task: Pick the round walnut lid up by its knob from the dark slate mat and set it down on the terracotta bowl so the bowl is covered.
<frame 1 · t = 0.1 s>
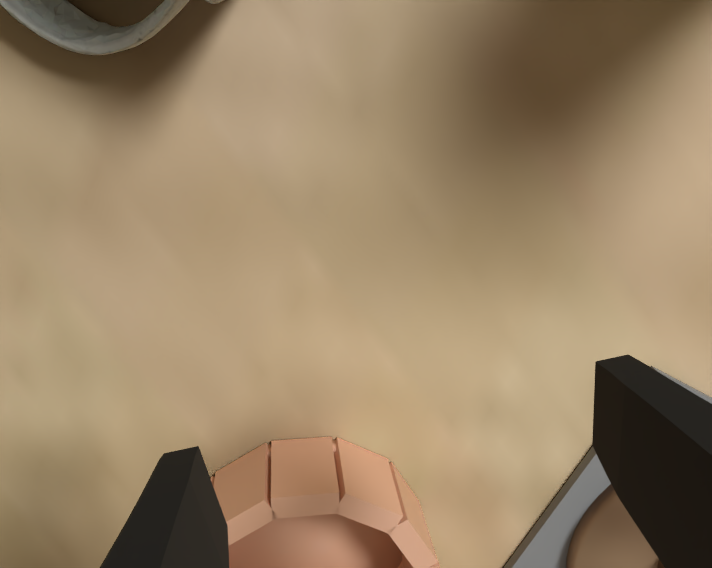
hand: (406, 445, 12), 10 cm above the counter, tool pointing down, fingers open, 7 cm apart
bowl: (306, 538, 25), on the counter
mat: (674, 540, 27), on the counter
lid: (679, 547, 27), resting on mat
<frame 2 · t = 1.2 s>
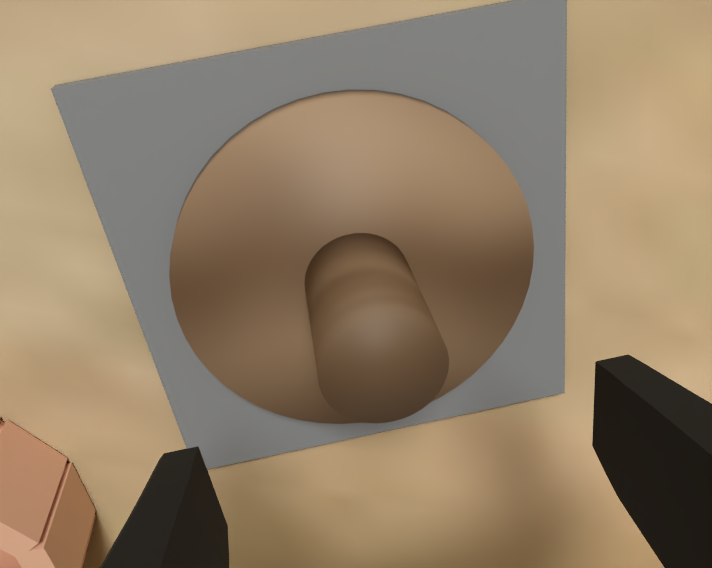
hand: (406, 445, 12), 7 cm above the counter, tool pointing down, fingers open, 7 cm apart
mat: (351, 261, 18), on the counter
lid: (353, 267, 18), resting on mat
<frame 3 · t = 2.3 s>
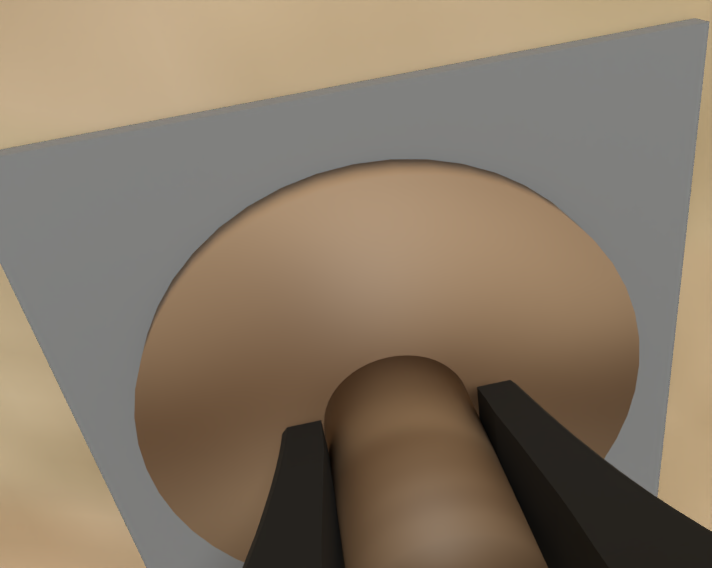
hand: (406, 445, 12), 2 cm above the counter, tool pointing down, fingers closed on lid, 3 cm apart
mat: (386, 378, 14), on the counter
lid: (389, 390, 13), resting on mat, touching gripper
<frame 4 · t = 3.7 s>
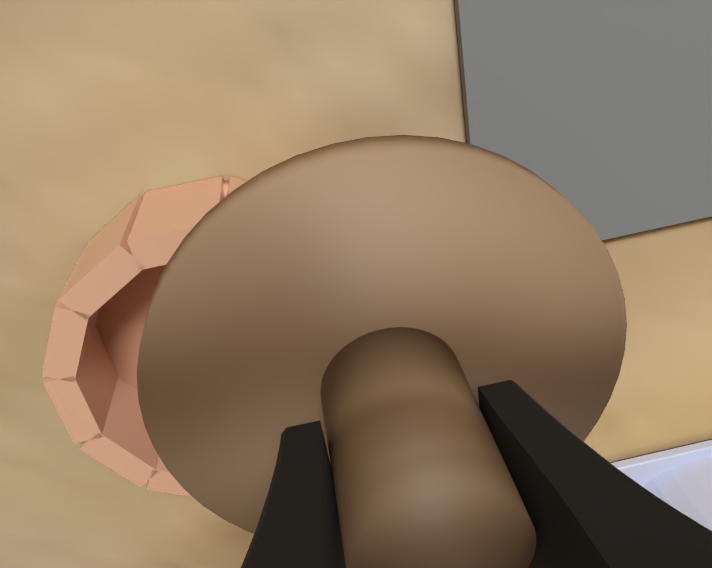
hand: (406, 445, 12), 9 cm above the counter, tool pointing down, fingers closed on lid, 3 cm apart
bowl: (226, 315, 20), on the counter
mat: (674, 22, 18), on the counter
lid: (384, 362, 14), point 7 cm above the counter, touching gripper
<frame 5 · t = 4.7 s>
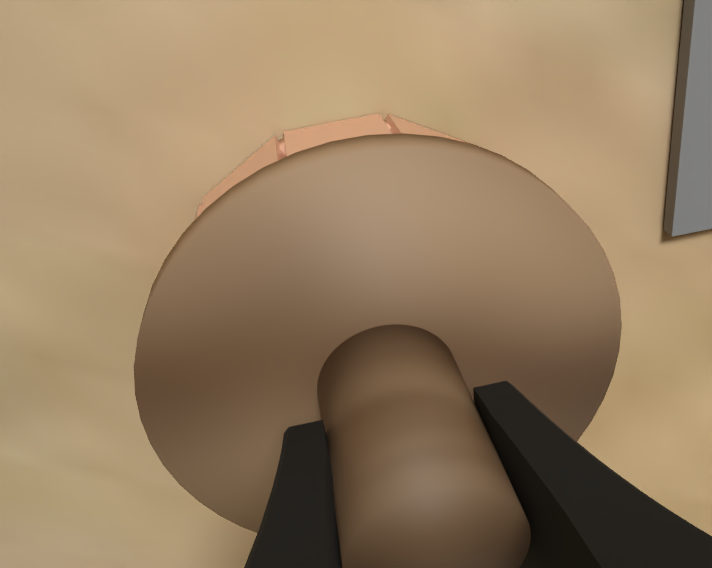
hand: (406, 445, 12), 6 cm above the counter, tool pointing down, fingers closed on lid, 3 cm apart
bowl: (360, 292, 17), on the counter
lid: (380, 359, 14), point 3 cm above the counter, touching gripper
when the fingers open (6 cm above the counter, at t = 4.9 s): lid stays where it is, resting on bowl.
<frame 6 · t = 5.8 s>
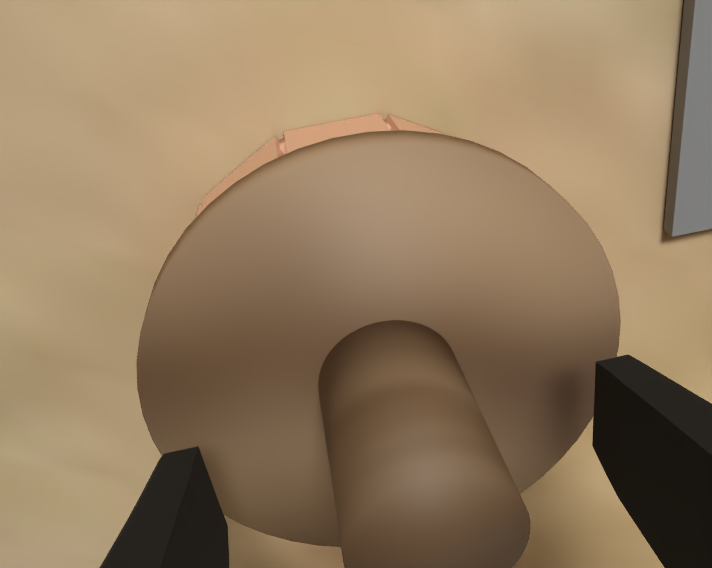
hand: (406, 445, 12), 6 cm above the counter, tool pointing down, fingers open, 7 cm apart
bowl: (360, 292, 17), on the counter
lid: (381, 356, 14), point 3 cm above the counter, touching bowl
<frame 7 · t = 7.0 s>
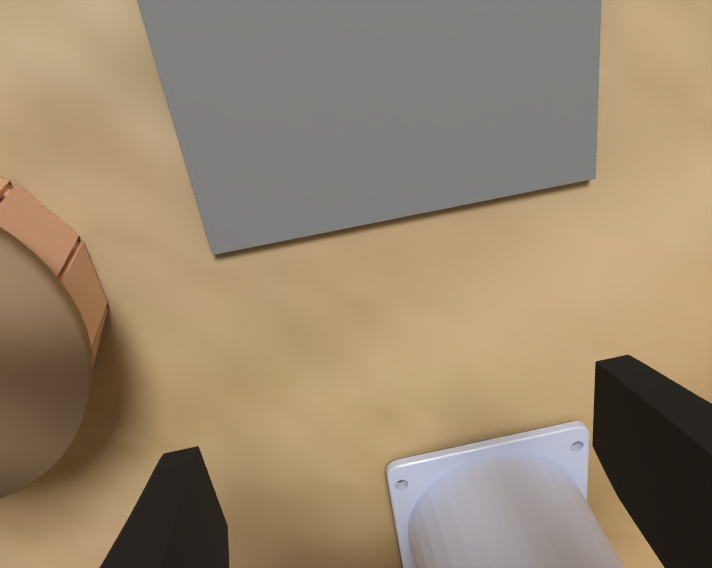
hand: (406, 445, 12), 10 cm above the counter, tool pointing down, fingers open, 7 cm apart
mat: (378, 5, 18), on the counter
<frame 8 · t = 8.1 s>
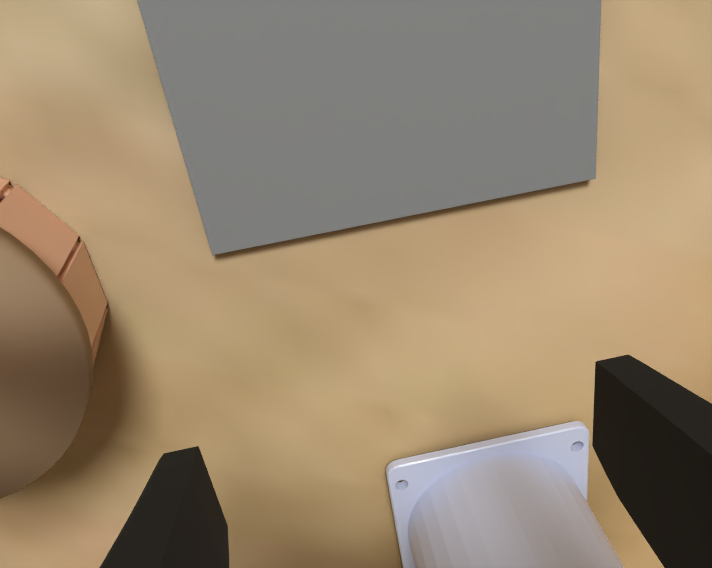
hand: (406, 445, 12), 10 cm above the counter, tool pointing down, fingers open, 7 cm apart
mat: (378, 6, 18), on the counter
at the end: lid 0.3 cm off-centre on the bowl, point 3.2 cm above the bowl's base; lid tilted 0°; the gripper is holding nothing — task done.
